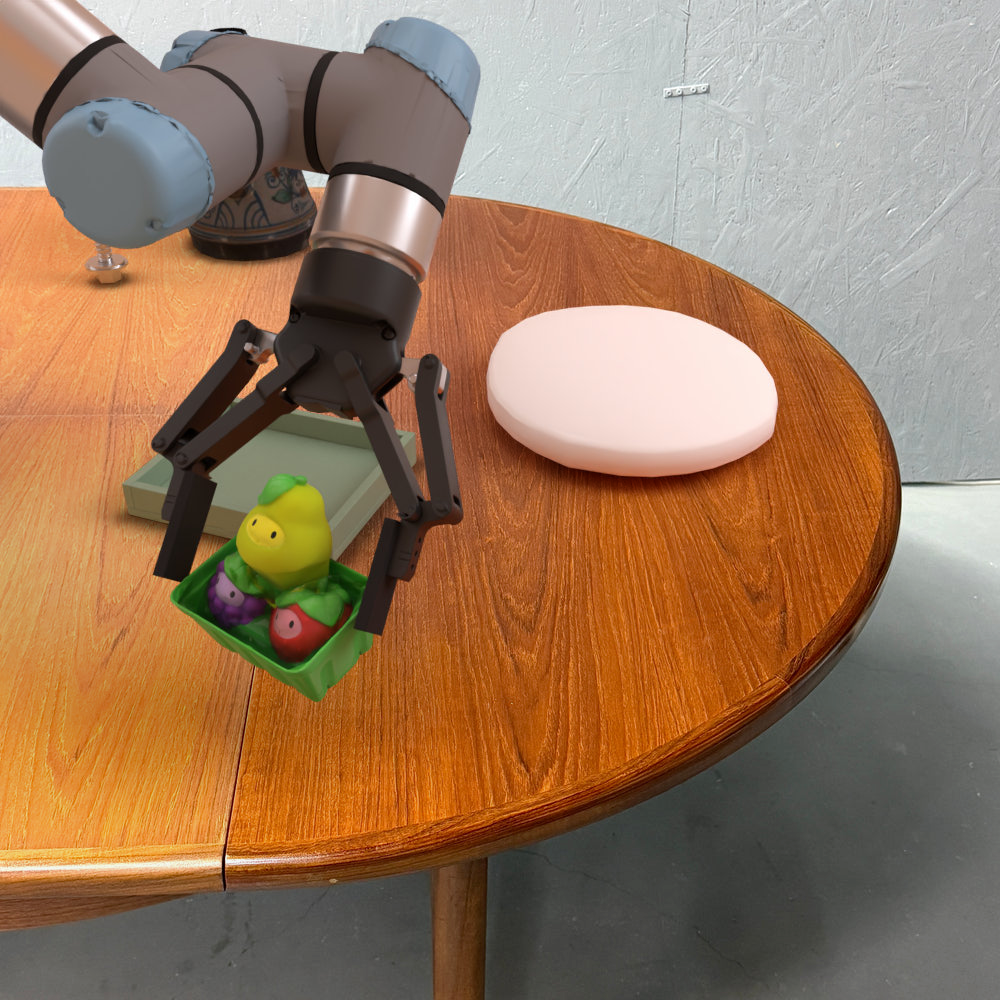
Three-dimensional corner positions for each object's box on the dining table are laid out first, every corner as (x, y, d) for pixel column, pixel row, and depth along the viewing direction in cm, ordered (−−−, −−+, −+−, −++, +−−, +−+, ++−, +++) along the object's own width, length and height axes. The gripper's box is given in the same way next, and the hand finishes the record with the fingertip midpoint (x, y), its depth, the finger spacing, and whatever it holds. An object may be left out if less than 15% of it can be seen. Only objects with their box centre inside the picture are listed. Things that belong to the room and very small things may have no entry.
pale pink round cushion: (840, 417, 91) (545, 470, 84) (823, 477, 95) (540, 532, 88) (695, 264, 111) (447, 297, 104) (686, 319, 115) (447, 354, 109)
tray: (128, 514, 87) (121, 483, 85) (232, 424, 99) (227, 395, 97) (333, 564, 82) (330, 532, 80) (416, 462, 94) (415, 432, 92)
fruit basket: (189, 649, 68) (123, 525, 60) (286, 559, 72) (237, 432, 65) (318, 730, 62) (264, 604, 54) (414, 627, 67) (378, 497, 59)
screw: (79, 282, 126) (109, 268, 130) (110, 290, 124) (140, 276, 128) (54, 172, 119) (86, 160, 122) (87, 178, 117) (118, 166, 121)
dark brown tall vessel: (292, 208, 148) (271, 11, 134) (349, 254, 134) (332, 40, 120) (172, 229, 141) (137, 24, 127) (220, 280, 127) (186, 56, 113)
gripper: (567, 323, 66) (478, 661, 63) (221, 265, 73) (125, 567, 70) (543, 273, 59) (441, 652, 56) (162, 214, 66) (52, 548, 63)
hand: (265, 606), depth 63 cm, fingers closed on fruit basket, 12 cm apart
